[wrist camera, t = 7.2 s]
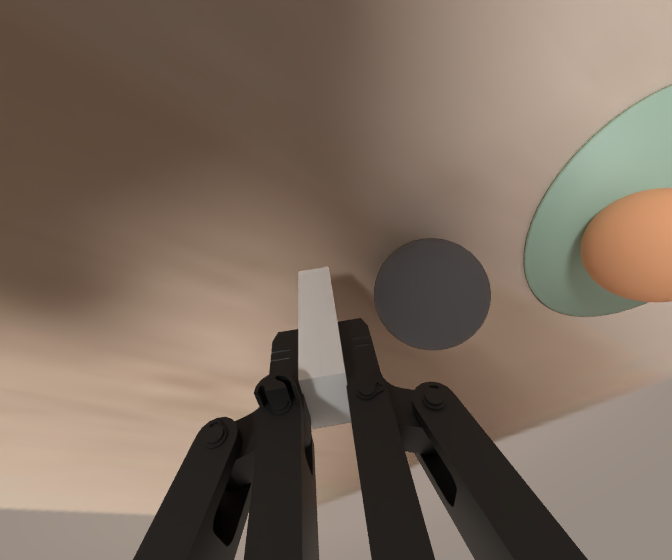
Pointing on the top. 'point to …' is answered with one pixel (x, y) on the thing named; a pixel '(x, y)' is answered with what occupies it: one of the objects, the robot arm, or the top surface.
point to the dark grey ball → (432, 294)
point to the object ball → (632, 246)
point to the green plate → (596, 204)
